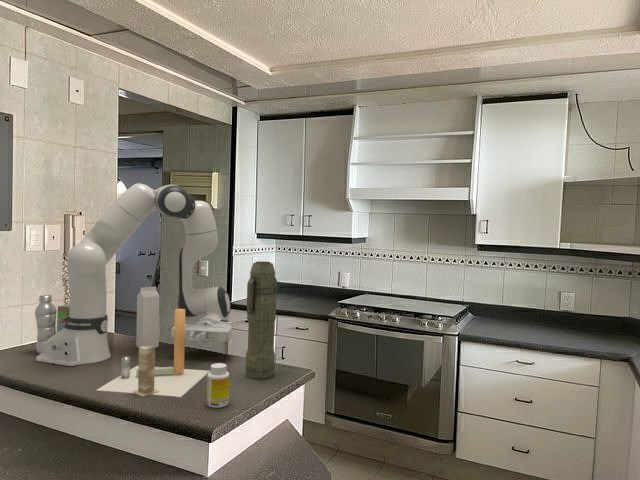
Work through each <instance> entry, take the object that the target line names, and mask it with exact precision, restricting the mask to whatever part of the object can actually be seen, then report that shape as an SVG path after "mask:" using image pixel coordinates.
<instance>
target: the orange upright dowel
mask: <svg viewBox="0 0 640 480" xmlns="http://www.w3.org/2000/svg"><path fill="white" fill-rule="evenodd" d="M185 324H186V316H185V309H178V308H176V309H175V310H174V326H175V333H174V338H173V339H174V340H173V343H174V346H173V366H162V367H161V366H158V367H159V368H155V375H163V374H174V373H183V372H184V369H185V348H186V347H185V340H186V339H185ZM138 371H139V369H137V371H136V376H138Z"/></svg>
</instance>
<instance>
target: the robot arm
mask: <svg viewBox="0 0 640 480" xmlns="http://www.w3.org/2000/svg"><path fill="white" fill-rule="evenodd" d="M154 212H160V213H161V214H162V215H163V216H166V217H169V218H173V219H174V218H176V219H181V220H182V223H183V226H184V231H185V245H184V247H182V248H181V249H180V251H179V257H178V296H177V297H178V298H177V309H185V318H193V317H198V316H203V317H202V318H200V319H199V320H198V321H197V322H196V323H195V324H189V323H185V340H189V341H193V342H199V341H201V342H203V343H212V342H225V343H226V342H230V341H232V339H233V322H232V317H231V314H230V313H231V309H232V305H231V304H232V303H231V296H230V295H229V292H228V291H227V290H225V289H224V288H223V287H222V286H216V287H215V286H214V287H208V288H207V287H205V288H194V287H193V267H194V264H195V263H196V262H197V261H199V260H201V259H203V258H205V257H206V256H208V255H210V254H212V253H213V252H214V251H215V250H216V249H217V246H218V244H219V236H218V227H217V225H216V224H217V223H216V219H215V216H214V215H215V214H214V212H213V210H212V207H211V205H210V203H208V202H207V201H203V200H194V199H193V198H192V196H191V195H190V194H189V193H188V191H187V190H185V189H184V188H183V187H182V186H180V185H177V184H166V185H162V186H160V187H157V188H154V189H153V188H151V187H150V186H149V185H147V184H143V183H134V184H133V185H131V186H130V187H128V189H126V190H125V191H124V192H123V193H121V195H120V196H118V197H117V199H115V201H114V202H112V204H111V205H110V206H109V207H108V209H106V211H105V212H104V213H103V214H102V215H101V217H100V218H99V219H98V220H97V221H96V223H95V224H94V225H93V226H92V227H91V229H90V230H89V231H88V233H87V234H86V235H85V236H84V238H83V239H82V240H81V241H80V242H79V243H77V244H75V245H74V246H72V248H71V249H70V250H69V251H68V254H67V257H66V260H67V262H66V263H67V280H68V290H69V304H70V306H69V316H68V317H67V318H65V319H62V320H64V321H62V322H61V323H64V322H65V325H64V328H63V329H61V330H60V331H59V332H57V331H56V334H55V335H53V336H52V337H51V338H49V339H48V340H47V342H46V344H45V349H44V353H42V354H37V356H36V358H35V361H36V362H41V363H46V364H47V363H48V364H53V363H54V365H60V366H68V367H73V366H79V365H85V364H93V363H98V362H102V361H106V360H108V359H110V358H111V356H112V354H111V352H110V349H109V342H108V325H109V324H108V323H109V322H108V321H109V319H108V318H109V317H108V314H107V297H108V296H107V294H108V293H107V279H106V278H107V276H106V275H107V274H106V265H107V264H108V263H109V262H110V261H111V260H112V258H113V257H114V256H115V255H116V254H117V252H119V250H120V249H121V248H122V247H123V246H124V245H125V243H126V242H127V241H128V240H129V238H130V237H131V236H132V235H133V234H134V233H135V232H136V230H137V229H138V228H139V227H140V226H141V225H142V223H143V222H144V221H145V220H146V219H147V217H148V216H149V215H151V214H152V213H154ZM174 333H175V325H174V326H172V327H171V330H170V337H171V338H173V339H174Z"/></svg>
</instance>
